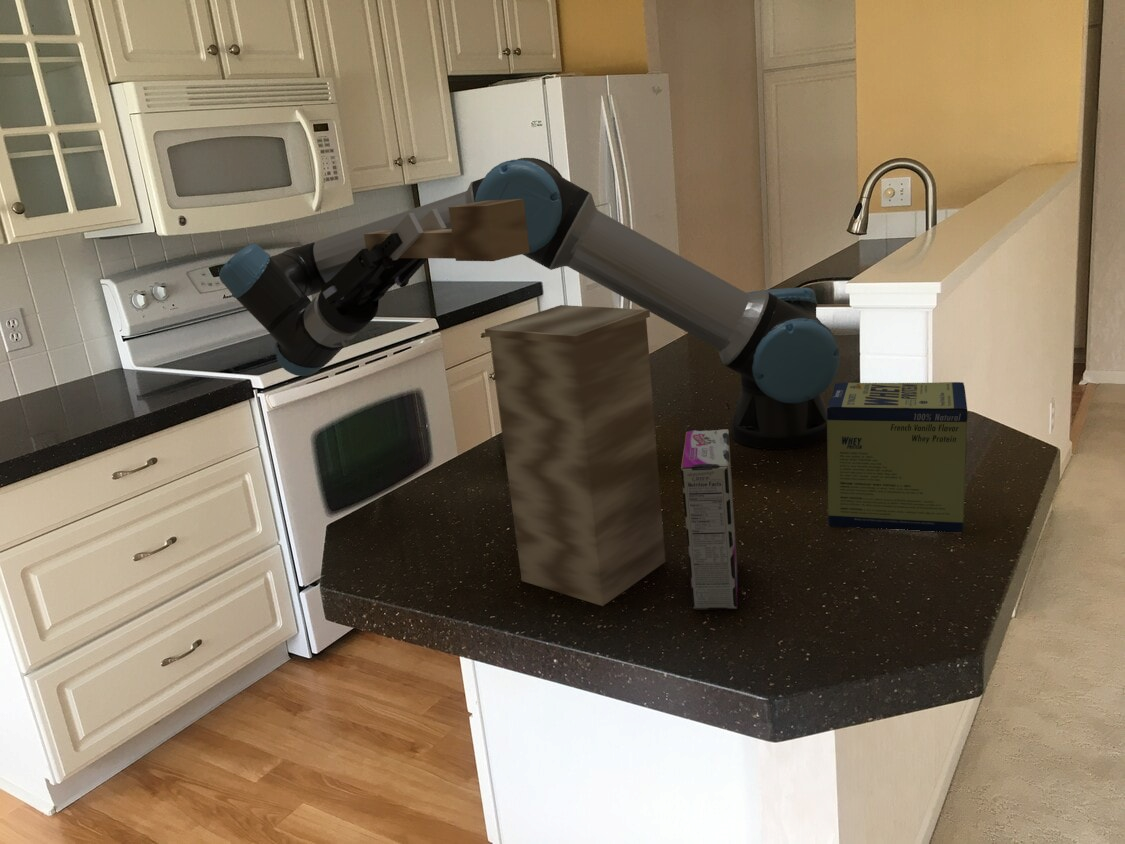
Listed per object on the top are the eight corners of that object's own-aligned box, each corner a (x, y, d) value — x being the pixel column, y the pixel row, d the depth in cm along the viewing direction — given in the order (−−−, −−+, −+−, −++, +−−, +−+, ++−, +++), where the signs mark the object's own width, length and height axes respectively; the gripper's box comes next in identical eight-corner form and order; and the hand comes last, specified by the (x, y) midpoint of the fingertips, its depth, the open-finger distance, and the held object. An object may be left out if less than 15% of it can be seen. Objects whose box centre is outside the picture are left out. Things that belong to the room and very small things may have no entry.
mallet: (358, 259, 118) (350, 211, 116) (394, 252, 122) (387, 205, 120) (493, 261, 102) (486, 205, 101) (529, 252, 107) (523, 198, 105)
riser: (518, 581, 108) (484, 329, 99) (585, 539, 117) (560, 305, 108) (603, 608, 100) (575, 336, 91) (669, 561, 109) (649, 309, 100)
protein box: (965, 535, 108) (969, 407, 103) (826, 528, 113) (824, 406, 109) (962, 499, 117) (965, 380, 112) (834, 495, 123) (831, 381, 118)
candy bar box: (694, 563, 108) (684, 429, 103) (737, 562, 107) (730, 427, 102) (689, 611, 98) (679, 465, 93) (738, 611, 97) (730, 463, 92)
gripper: (399, 321, 134) (489, 237, 117) (305, 347, 122) (390, 259, 106) (375, 275, 134) (461, 185, 118) (279, 297, 123) (360, 202, 106)
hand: (427, 220), depth 112 cm, fingers closed on mallet, 3 cm apart
